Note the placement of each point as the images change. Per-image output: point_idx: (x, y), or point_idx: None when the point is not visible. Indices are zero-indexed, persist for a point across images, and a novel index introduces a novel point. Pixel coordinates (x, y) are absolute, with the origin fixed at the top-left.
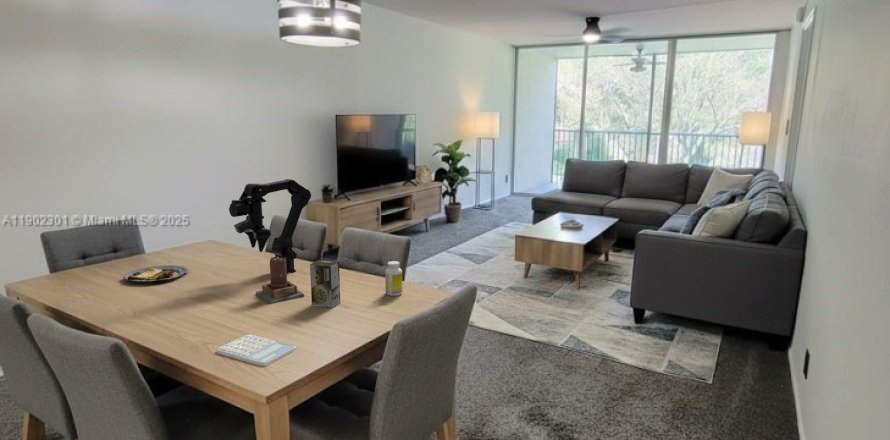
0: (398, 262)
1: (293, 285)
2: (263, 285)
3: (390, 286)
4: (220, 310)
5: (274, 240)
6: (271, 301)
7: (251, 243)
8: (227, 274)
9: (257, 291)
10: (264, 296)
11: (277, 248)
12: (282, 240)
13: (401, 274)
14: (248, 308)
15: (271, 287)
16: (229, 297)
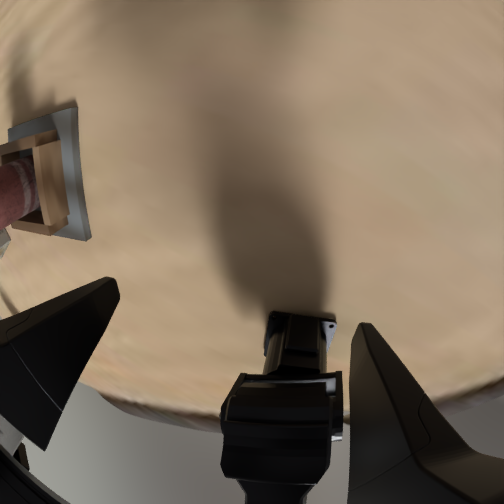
0: None
1: (14, 223)
2: (29, 138)
3: None
4: (38, 6)
5: (318, 463)
6: (9, 136)
7: (370, 361)
8: (468, 128)
9: (69, 114)
10: (30, 126)
11: (268, 416)
12: (229, 468)
13: None
14: (13, 73)
15: (18, 159)
16: (100, 15)
